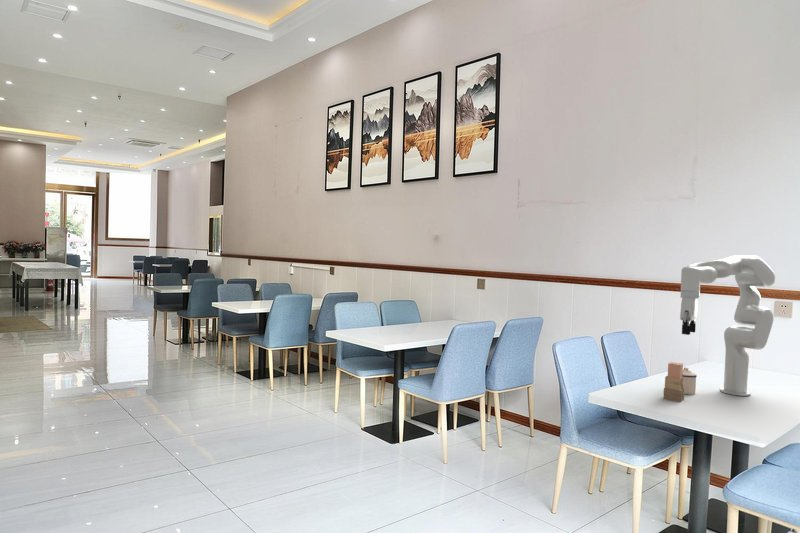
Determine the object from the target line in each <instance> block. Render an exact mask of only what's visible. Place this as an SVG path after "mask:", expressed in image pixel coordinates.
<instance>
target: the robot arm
mask: <svg viewBox="0 0 800 533" xmlns="http://www.w3.org/2000/svg"><path fill="white" fill-rule="evenodd" d="M731 276H734V278H735V282H736V284H737V286H738V290H739V299H738V303H737V305H736V308H735V312H734V315H733V320H734V321H735V323H737V324H738V325H739V326H738V325H732V326H731V325H730V326H728V327H727V328H725V330H724V332H723V339H724V340H723V341H724V346H725V355H724V356H725V358H724V376H723V386H722V387H720V388H719V391H720V392H721V393H724V394H727V395H732V396H740V397H747V396H751V395H752V393H751V391H750V390H748V378H749V377H748V375H749V364H750V363H749V362H750V356H749V353H748V351H747V349H749V350H757V351H758V350H760V351H761V350H763V349H765V347H766V345H767V343H768V340H769V338H770V334H771V331H772V327H773V324H774V313H773V311H772V310H771V308H768V307H764V306H760V305H761V300H762V297H761V293H760V291H759V290H758V289H757V288H756V287H760V288H761V287H763V288H768V287H769V288H770V287H772V286H773V285H775V282H776V281H777V277H776V273H775V272H774V270H773V269H772V268H771V267H770V266H769V265H768V263H767V262H766V261H764V259H762V258H761V257H760V256H758V255H751V254H749V255H748V254H747V255H746V254H744V255H743V254H742V255H741V254H740V255H732V256H729V257H725V258H722V259H716V260H711V261H704V262H698V263H697V262H696V263H693V264H689V265H687V266H683V267H682V268H681V274H680V295H679V296H680V299H681V303H680V313H679V314H680V315H679V320H680V321H682V323H681V335H685V336H687V335H688V336H690V335H691V333H696V320H697V318H698V317H697V316H698V299H701V298H700V296H701V294H700V293H701V284H713V283H714V282H715V281H716V280H717V279H725V278H728V277H731ZM740 325H742V326H740ZM747 326H750V327H747Z"/></svg>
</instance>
